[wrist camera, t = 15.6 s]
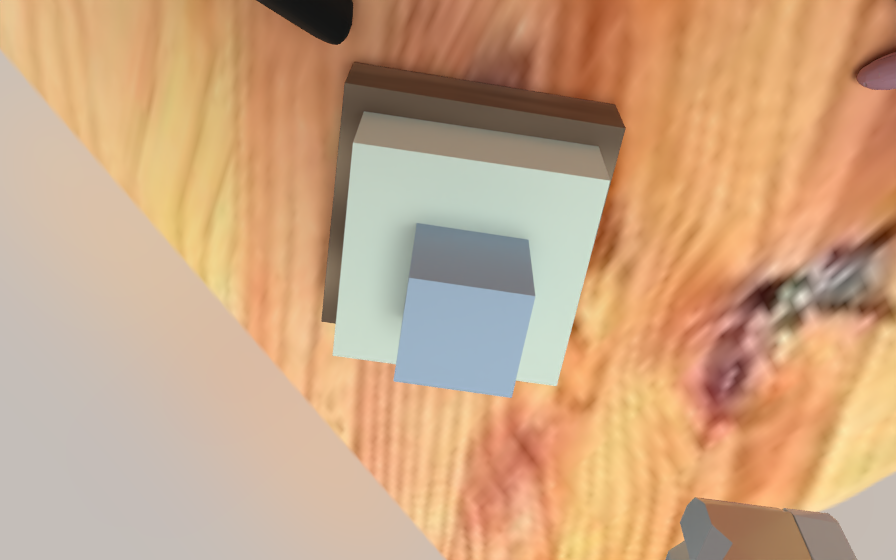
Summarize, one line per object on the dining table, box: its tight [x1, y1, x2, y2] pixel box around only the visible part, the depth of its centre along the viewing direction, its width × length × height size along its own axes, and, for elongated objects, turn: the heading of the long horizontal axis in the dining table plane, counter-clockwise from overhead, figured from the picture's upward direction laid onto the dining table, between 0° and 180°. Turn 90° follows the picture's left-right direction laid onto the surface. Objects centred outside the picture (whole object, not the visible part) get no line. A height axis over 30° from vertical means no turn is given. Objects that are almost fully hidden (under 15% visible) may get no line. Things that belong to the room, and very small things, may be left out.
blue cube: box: [394, 223, 535, 398], centre depth 37 cm, size 5×5×5 cm
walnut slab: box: [322, 62, 625, 324], centre depth 44 cm, size 13×13×4 cm
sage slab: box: [333, 111, 610, 386], centre depth 41 cm, size 11×11×4 cm
